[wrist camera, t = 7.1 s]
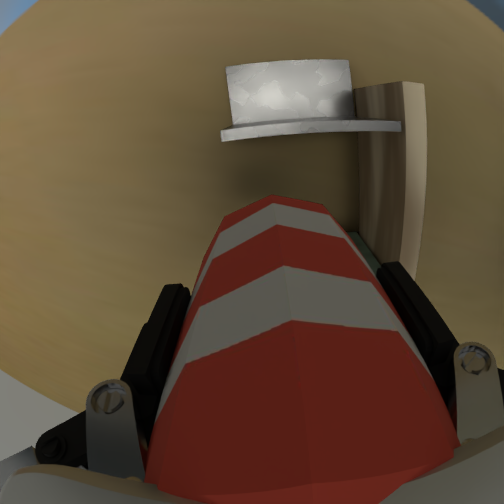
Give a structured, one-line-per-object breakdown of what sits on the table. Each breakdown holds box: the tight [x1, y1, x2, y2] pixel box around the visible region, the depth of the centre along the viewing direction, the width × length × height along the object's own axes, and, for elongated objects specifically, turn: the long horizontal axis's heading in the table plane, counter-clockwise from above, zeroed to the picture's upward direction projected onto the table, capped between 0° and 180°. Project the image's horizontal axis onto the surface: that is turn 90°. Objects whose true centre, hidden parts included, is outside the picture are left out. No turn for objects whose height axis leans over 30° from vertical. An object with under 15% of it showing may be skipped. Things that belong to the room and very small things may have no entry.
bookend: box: [220, 60, 401, 142], centre depth 17 cm, size 10×6×9 cm, turn 97°
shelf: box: [346, 81, 427, 280], centre depth 22 cm, size 11×23×10 cm, turn 7°
